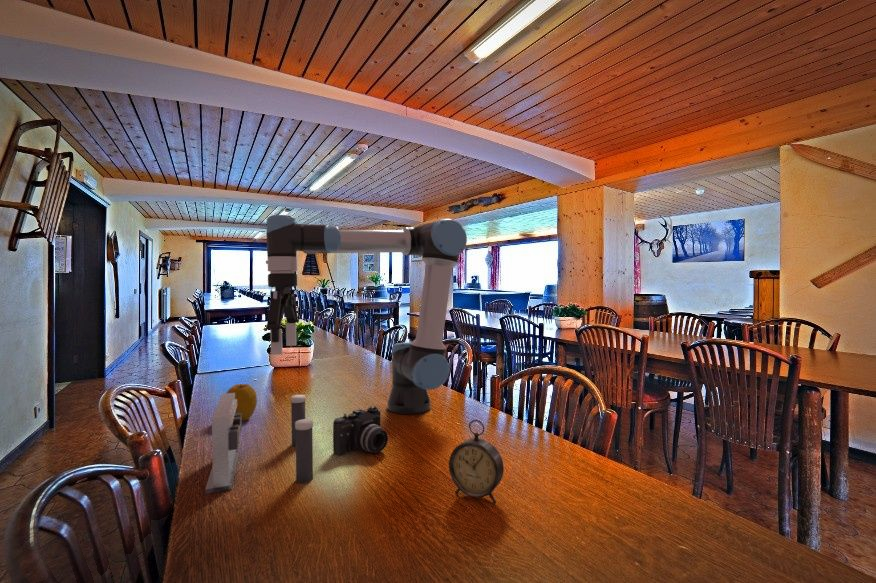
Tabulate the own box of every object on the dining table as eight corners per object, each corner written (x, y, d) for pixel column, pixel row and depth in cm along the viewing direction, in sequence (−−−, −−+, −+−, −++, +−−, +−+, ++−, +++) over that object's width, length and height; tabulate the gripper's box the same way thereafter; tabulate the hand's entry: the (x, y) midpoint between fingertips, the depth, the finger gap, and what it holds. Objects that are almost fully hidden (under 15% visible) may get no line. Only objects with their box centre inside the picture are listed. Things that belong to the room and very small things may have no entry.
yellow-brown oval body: (216, 422, 132) (216, 385, 132) (241, 413, 141) (241, 378, 141) (240, 426, 129) (239, 388, 128) (264, 417, 138) (263, 381, 137)
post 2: (312, 474, 98) (311, 418, 97) (314, 481, 94) (313, 423, 94) (295, 477, 96) (294, 420, 96) (296, 484, 93) (295, 425, 92)
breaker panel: (242, 452, 110) (241, 392, 109) (237, 488, 91) (235, 415, 90) (216, 456, 107) (215, 394, 107) (205, 494, 89) (203, 419, 88)
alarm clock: (447, 495, 88) (447, 419, 88) (458, 484, 93) (458, 412, 92) (497, 509, 83) (497, 428, 82) (506, 496, 88) (506, 420, 87)
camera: (355, 465, 103) (354, 425, 102) (329, 453, 110) (329, 415, 109) (398, 447, 113) (397, 411, 113) (372, 437, 120) (371, 403, 120)
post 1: (305, 440, 118) (304, 394, 117) (306, 445, 114) (305, 397, 114) (291, 442, 116) (290, 395, 116) (291, 447, 113) (291, 399, 112)
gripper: (282, 272, 127) (284, 342, 128) (251, 272, 102) (253, 359, 103) (307, 272, 128) (309, 342, 128) (282, 272, 103) (285, 358, 104)
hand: (284, 349), depth 116 cm, fingers open, 13 cm apart
